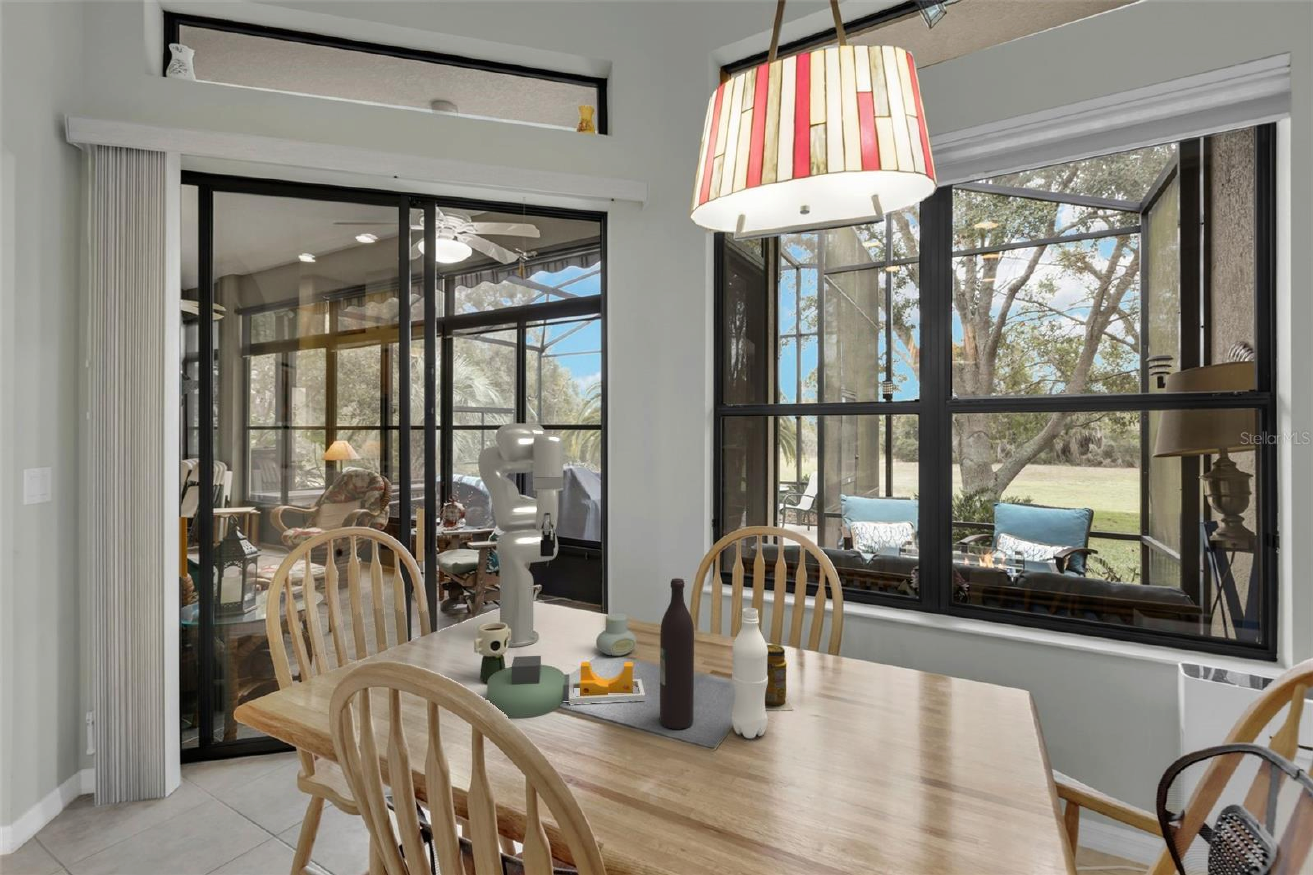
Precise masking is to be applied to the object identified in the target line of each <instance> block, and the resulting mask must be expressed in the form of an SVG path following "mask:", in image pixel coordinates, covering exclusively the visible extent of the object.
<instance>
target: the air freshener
mask: <svg viewBox="0 0 1313 875" xmlns="http://www.w3.org/2000/svg"><path fill="white" fill-rule="evenodd" d="M595 642H596V644H595V645H596V646H597V649H598V650H599V651H600V652H602V653H603V654H605V655H607V656H611V655H612V657H623V656H625V655H627V654H629V653H630V652H632V651H633V650H634V649H635V647H636V645H637V638H636V636H635V634H634V633H633V632H631V631H630V630H628V616H627V615H626V614H624V613H617V612H616V613H615V612H614V613H609V614H607V615H606V616H605V630H603V631H602V632H601V633H599V634H598V636H597V637H596V640H595Z"/></svg>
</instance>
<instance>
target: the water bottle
mask: <svg viewBox="0 0 1313 875" xmlns="http://www.w3.org/2000/svg"><path fill="white" fill-rule="evenodd" d="M741 618H742V619H741V622H742V625H741V629H740V630H739V632H738V634H737V636H736V638H735V640H734V641H733V645H732V650H731V652H732V674H731V681H732V684H733V689H734V690H733V691H734V702H733V708H732V711H731V712H732V713H731V723H732V728H733V729H734V732H735V733H736V734H737V735H741V734H742V735H743V737H744V738H746V739H755V737H756V736H759V737H761V736H763V735H764V733H765V731H766V729H767V728H768V726H767V725H768V715H767V710H765V692H766V687H767V684H768V676H767V655H768V649H767V645H768V644H767V643H766V640H765V639H764V636H763V635H762V633H761V631H760V628H759V623H760V619H759V610H758V609H757V608H754V607H744V608H743V609H742V617H741Z"/></svg>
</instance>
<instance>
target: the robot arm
mask: <svg viewBox="0 0 1313 875" xmlns="http://www.w3.org/2000/svg"><path fill="white" fill-rule="evenodd" d="M495 442H496V444H497V445H496V446H495V445H494V446H489V447H485V448H484V449H482V450H481V451H480V452H479V455H478V459H477V463H478V464H477V467H478V471H479V472H478V473H479V476H480V479H481V482H482V483H483V485H484V487H485V489H486V490H487V492H488V494H489V498H490V501H491V502H490V503H491V505H492V509H493V514H494V519H495V523H496V526H497V528H498V529H499V531H501V532H504V533H502V534H500V535H499V536H498V538H497V540H496V543H495V544H496V555H497V561H498V567H499V569H498V570H499V622H501V623H505V624H507V625H508V629H511V641H509V642H508V648H509V647H510V648H512V647H513V648H514V647H515V648H517V647H525V646H528V645H532V644H534V643H536V642H537V641H538V640H539V639H540V638H539V637H540V634H539V633H538V632H537V631H536V630H534V577H533V575H532V573H531V571H530V570H528V568H527V567H526V566H525V564H530V563H531V564H532V563H540V562H548V561H552V560H554V559H555V558H556V556H557V555H558V551H559V542H558V537H557V534H556V529H557V526H558V519H559V518H558V517H559V492H560V491H564V446H565V445H564V443H565V442H564V438H563V436H561V435H559V434H553V433H546V430H545V429H544V428H543V426H542V425H540V424H539V423H529V422H528V423H527V422H526V423H522V422H521V423H518V422H515V423H506V424H503V425H501V426H500V427H499V428H498V429H497V431H496V433H495ZM531 472H532V490H533V491H537V492H536V498H529V499H528V498H527V499H523V498H521V496H520V491H519V489H518V487H517V485H516V484H515V483H514V482H513V481H512V480H511V479H510V478H509V477H507V476H506V475H505V474H526V473H531Z"/></svg>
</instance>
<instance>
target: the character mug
mask: <svg viewBox="0 0 1313 875" xmlns="http://www.w3.org/2000/svg"><path fill="white" fill-rule="evenodd" d="M509 641H511V629H508V625H507V624H505V623H501V622H500V621H499V622H496V621H493V622H486V623H482V624H480V625H479V626H478V627H477V638H476V639H474V640H473V649H474V650H473V651H474V653H475V654H479V655H481V656H482V659H481V665H480V671H479V672H480V673H479V679H481V681H484V682H486V683H487V682H488V679H489V678H490V676H492V675H493V674H494V673H496V672H498V671H500V670H502V669H505V668H506V662H505V657H504V655H505V654H506V653H507V651H508V649H509V647H508V642H509Z"/></svg>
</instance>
